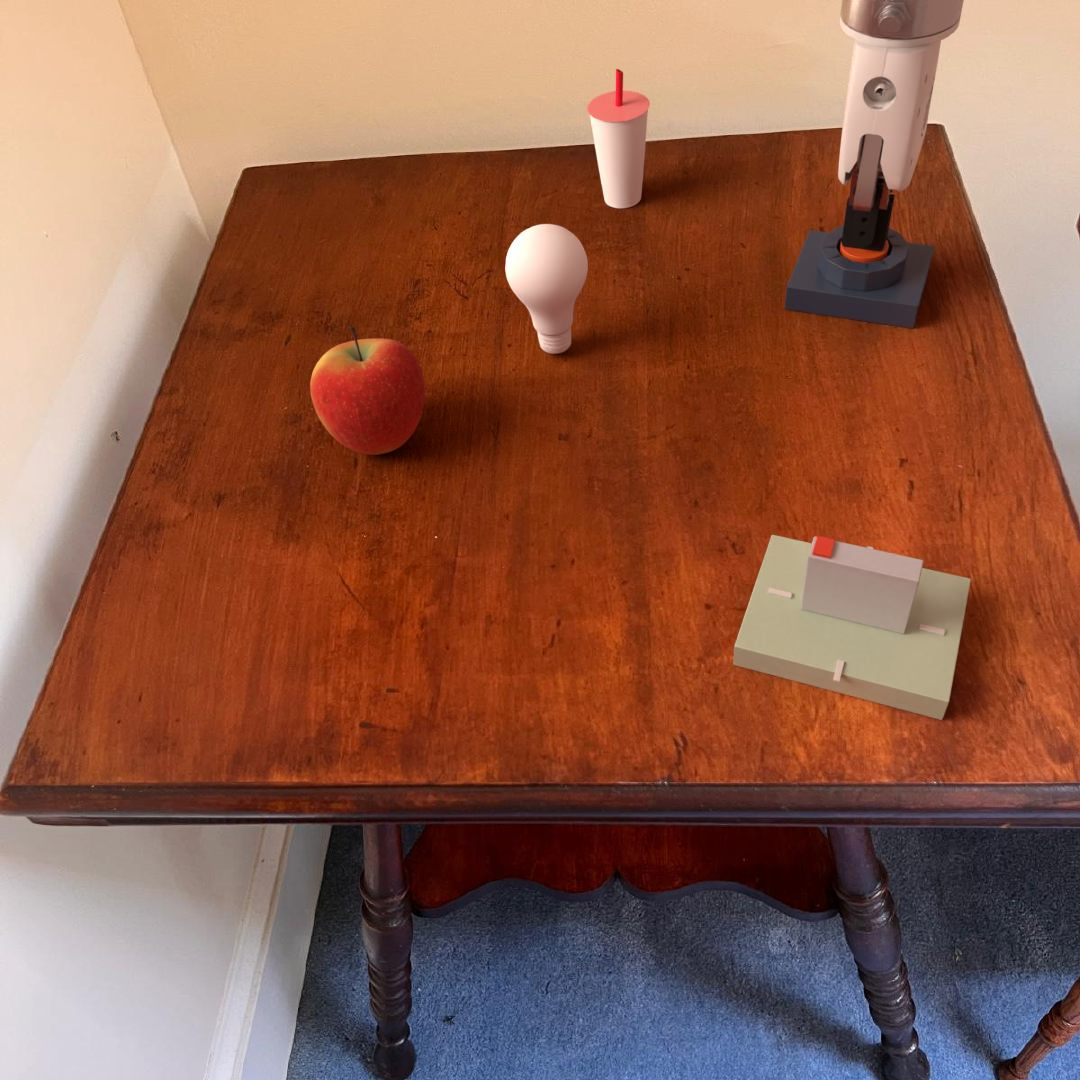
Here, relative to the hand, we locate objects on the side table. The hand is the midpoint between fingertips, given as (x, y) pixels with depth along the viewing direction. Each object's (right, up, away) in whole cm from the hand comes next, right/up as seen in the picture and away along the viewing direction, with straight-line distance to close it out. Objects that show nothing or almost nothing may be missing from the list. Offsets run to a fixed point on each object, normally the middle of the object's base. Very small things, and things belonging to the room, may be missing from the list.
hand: (863, 243), depth 80 cm
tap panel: (-6, -29, -18) cm, 34 cm away
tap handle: (-7, -27, -19) cm, 34 cm away
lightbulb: (-24, -8, +2) cm, 25 cm away
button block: (+1, -3, +3) cm, 4 cm away
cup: (-17, +8, +15) cm, 25 cm away
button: (0, -1, +1) cm, 2 cm away
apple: (-37, -16, -2) cm, 40 cm away
